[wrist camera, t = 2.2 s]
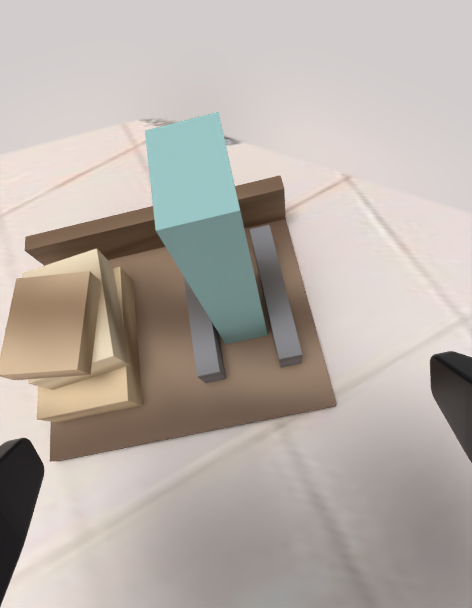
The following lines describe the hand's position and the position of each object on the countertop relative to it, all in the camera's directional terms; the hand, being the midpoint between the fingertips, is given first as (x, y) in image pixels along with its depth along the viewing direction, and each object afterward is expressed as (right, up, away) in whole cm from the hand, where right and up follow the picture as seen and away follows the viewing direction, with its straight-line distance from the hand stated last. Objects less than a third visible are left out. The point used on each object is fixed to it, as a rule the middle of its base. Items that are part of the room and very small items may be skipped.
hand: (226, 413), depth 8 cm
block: (0, +2, +14) cm, 15 cm away
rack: (-3, +1, +15) cm, 16 cm away
